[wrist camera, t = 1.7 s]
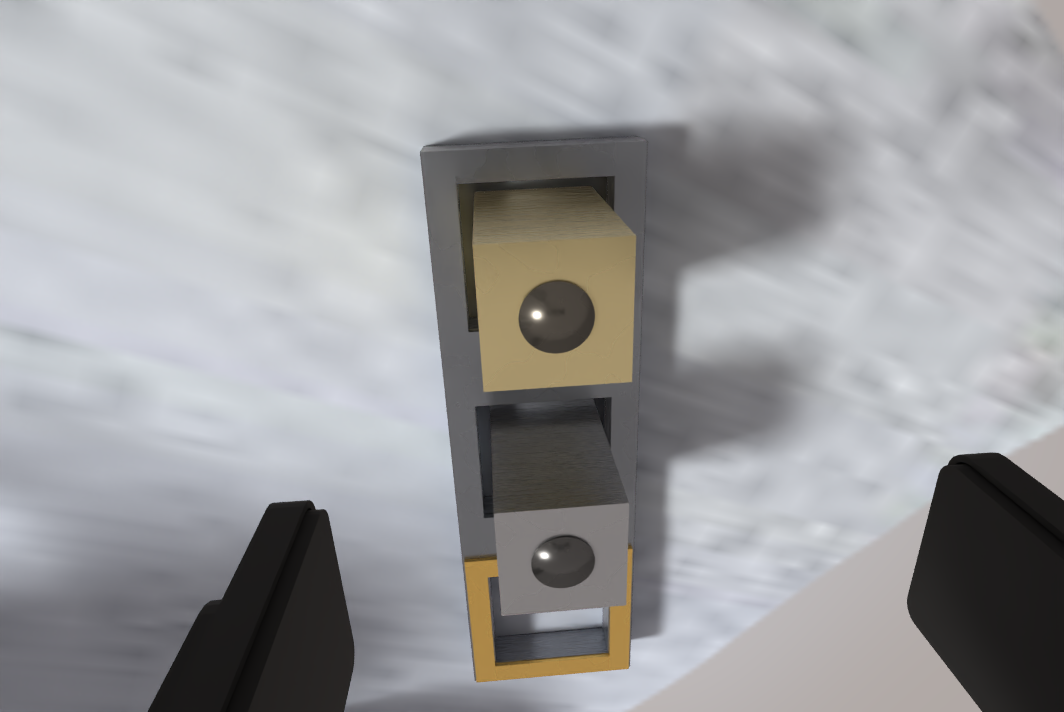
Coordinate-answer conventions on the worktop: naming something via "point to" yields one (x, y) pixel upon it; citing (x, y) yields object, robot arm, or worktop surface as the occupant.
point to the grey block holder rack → (465, 389)
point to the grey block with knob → (557, 509)
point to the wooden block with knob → (552, 288)
